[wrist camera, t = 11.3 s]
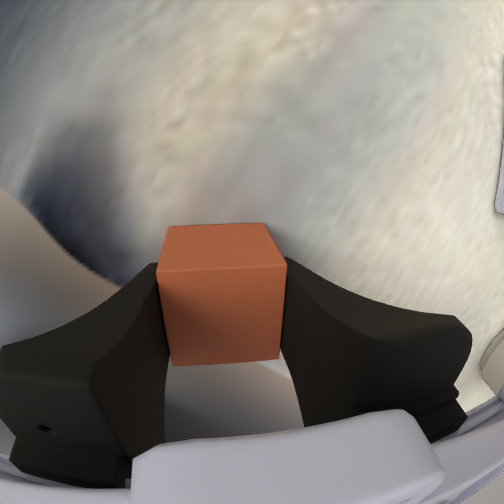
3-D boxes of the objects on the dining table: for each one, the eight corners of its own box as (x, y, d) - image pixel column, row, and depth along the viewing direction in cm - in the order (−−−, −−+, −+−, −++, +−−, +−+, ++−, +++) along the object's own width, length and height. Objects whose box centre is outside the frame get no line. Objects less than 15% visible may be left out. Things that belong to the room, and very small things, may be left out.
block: (261, 302, 13) (279, 359, 10) (177, 306, 13) (172, 366, 9) (264, 222, 12) (288, 264, 8) (168, 226, 11) (155, 270, 8)
